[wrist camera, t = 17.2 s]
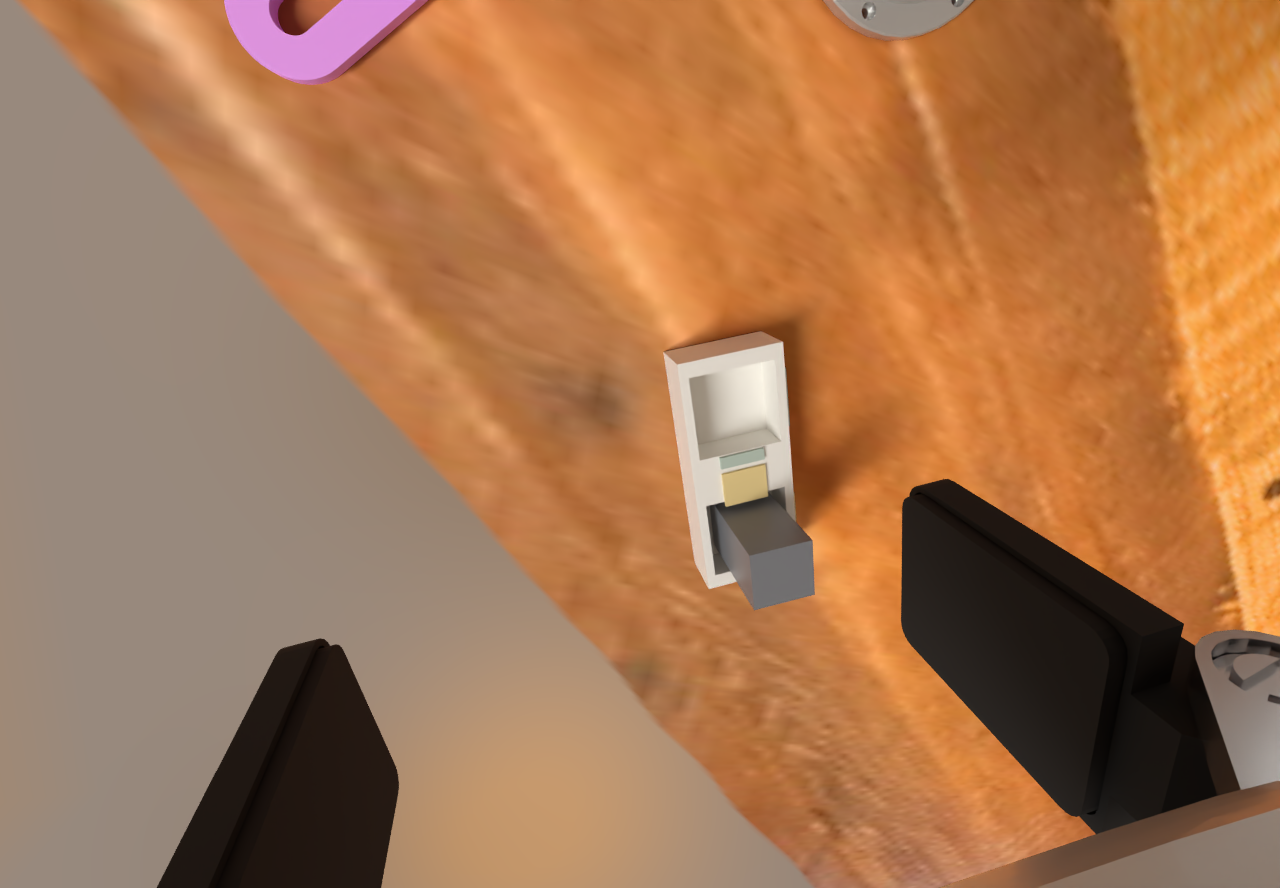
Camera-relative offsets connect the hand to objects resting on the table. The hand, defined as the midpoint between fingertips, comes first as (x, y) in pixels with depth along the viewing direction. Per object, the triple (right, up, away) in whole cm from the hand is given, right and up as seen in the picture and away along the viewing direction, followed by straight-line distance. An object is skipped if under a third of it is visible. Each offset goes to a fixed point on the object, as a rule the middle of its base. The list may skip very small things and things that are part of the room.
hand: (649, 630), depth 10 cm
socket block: (+6, +2, +34) cm, 34 cm away
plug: (+7, -2, +34) cm, 35 cm away
